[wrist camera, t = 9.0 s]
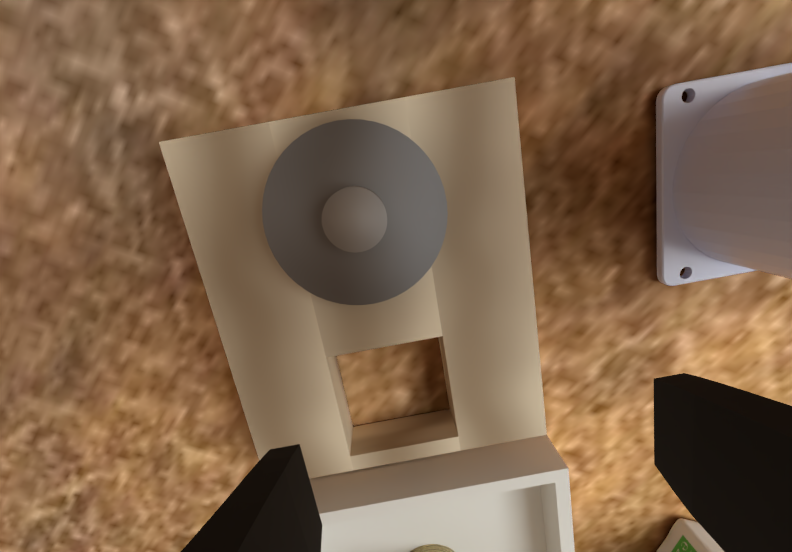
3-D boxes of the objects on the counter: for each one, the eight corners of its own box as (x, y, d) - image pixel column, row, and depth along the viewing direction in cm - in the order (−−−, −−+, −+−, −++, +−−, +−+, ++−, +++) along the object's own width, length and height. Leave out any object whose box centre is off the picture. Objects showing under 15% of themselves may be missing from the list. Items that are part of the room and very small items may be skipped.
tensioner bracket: (496, 89, 15) (538, 59, 11) (528, 407, 19) (569, 469, 15) (187, 146, 15) (120, 136, 11) (278, 453, 18) (252, 527, 15)
